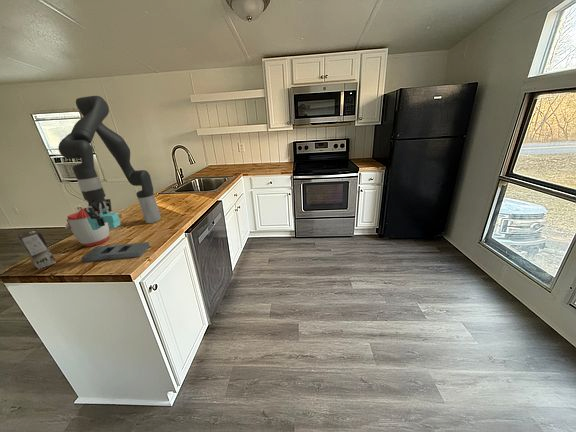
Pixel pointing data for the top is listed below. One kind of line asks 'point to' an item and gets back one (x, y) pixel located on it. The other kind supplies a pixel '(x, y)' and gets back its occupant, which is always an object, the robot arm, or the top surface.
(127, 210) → the top surface
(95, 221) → the teal rectangular block
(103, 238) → the citrus juicer
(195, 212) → the top surface
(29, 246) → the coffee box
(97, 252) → the grey board with holes
